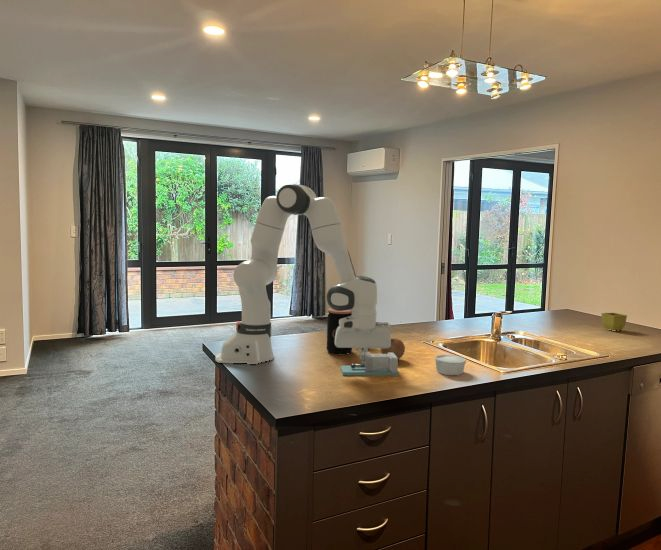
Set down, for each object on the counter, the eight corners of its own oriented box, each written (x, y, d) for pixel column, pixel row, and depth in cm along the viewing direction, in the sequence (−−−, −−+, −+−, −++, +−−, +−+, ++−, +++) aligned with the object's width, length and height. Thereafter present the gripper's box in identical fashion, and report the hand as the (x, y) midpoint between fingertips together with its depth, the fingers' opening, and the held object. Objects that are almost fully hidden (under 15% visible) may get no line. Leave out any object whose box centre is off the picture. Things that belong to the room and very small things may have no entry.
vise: (342, 375, 173) (343, 358, 172) (340, 368, 180) (341, 352, 180) (398, 375, 174) (399, 358, 174) (393, 368, 182) (394, 352, 182)
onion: (388, 369, 191) (383, 349, 187) (380, 357, 200) (374, 337, 195) (410, 360, 192) (405, 340, 188) (401, 348, 201) (396, 328, 196)
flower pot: (599, 329, 265) (600, 312, 264) (612, 328, 267) (613, 312, 267) (613, 332, 256) (614, 315, 256) (626, 332, 259) (627, 315, 258)
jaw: (352, 371, 173) (352, 357, 172) (349, 365, 181) (349, 351, 180) (373, 371, 173) (374, 357, 173) (370, 365, 181) (370, 351, 181)
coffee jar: (330, 355, 198) (331, 312, 196) (323, 349, 208) (324, 307, 206) (355, 354, 201) (356, 311, 199) (347, 348, 211) (348, 306, 209)
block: (372, 370, 175) (373, 356, 175) (370, 367, 179) (371, 353, 179) (389, 370, 176) (389, 356, 175) (387, 367, 180) (387, 353, 179)
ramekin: (442, 366, 188) (443, 352, 187) (470, 372, 181) (471, 358, 180) (428, 372, 179) (429, 358, 179) (457, 379, 172) (458, 364, 172)
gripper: (390, 320, 179) (388, 357, 180) (334, 319, 177) (333, 356, 179) (394, 324, 173) (392, 362, 174) (336, 323, 171) (335, 361, 173)
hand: (361, 359), depth 176 cm, fingers closed, pressing on jaw
